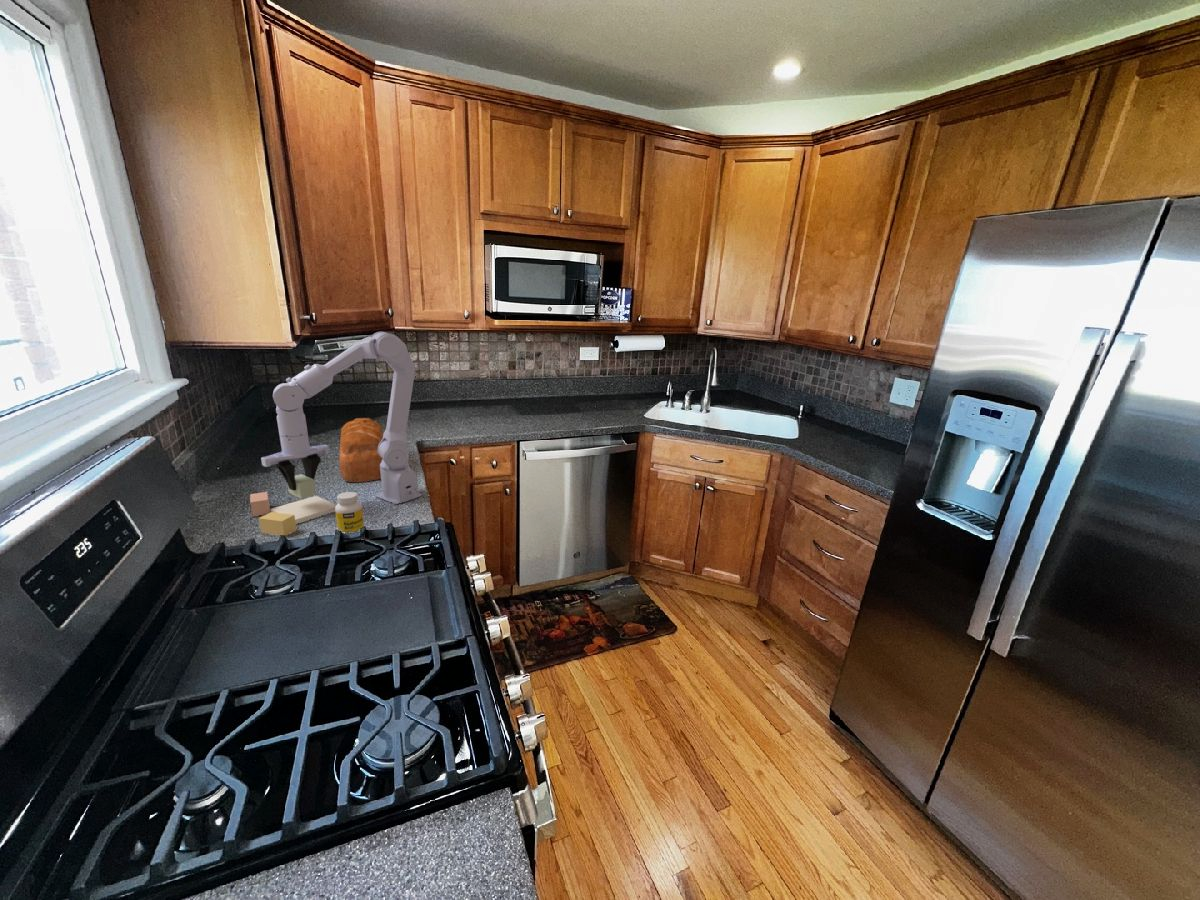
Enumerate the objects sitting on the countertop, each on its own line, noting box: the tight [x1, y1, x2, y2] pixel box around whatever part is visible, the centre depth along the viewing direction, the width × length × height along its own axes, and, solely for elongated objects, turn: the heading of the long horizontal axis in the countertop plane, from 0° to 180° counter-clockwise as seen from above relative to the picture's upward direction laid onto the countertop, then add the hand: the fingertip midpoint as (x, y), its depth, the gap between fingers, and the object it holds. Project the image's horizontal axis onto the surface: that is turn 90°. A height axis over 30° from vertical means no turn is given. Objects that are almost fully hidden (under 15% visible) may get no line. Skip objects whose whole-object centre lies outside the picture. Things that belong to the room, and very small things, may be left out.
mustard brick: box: [258, 511, 297, 536], centre depth 108 cm, size 6×4×4 cm, turn 80°
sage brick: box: [287, 473, 317, 499], centre depth 117 cm, size 6×4×4 cm, turn 57°
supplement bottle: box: [334, 491, 365, 533], centre depth 107 cm, size 5×5×10 cm
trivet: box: [270, 495, 337, 525], centre depth 119 cm, size 11×11×1 cm
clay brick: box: [249, 491, 271, 517], centre depth 118 cm, size 6×4×4 cm, turn 36°
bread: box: [338, 417, 384, 483], centre depth 149 cm, size 14×26×16 cm, turn 27°
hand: (301, 486), depth 117 cm, fingers closed on sage brick, 3 cm apart
